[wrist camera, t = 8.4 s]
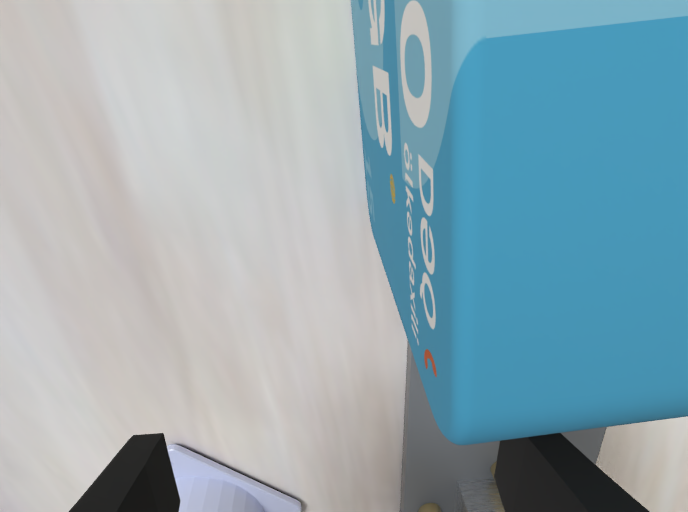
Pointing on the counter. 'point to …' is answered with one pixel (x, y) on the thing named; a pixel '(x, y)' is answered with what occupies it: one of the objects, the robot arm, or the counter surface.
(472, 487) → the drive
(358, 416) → the counter surface
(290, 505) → the robot arm
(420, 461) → the flat grey base plate
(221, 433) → the counter surface
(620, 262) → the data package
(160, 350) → the counter surface
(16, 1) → the counter surface
